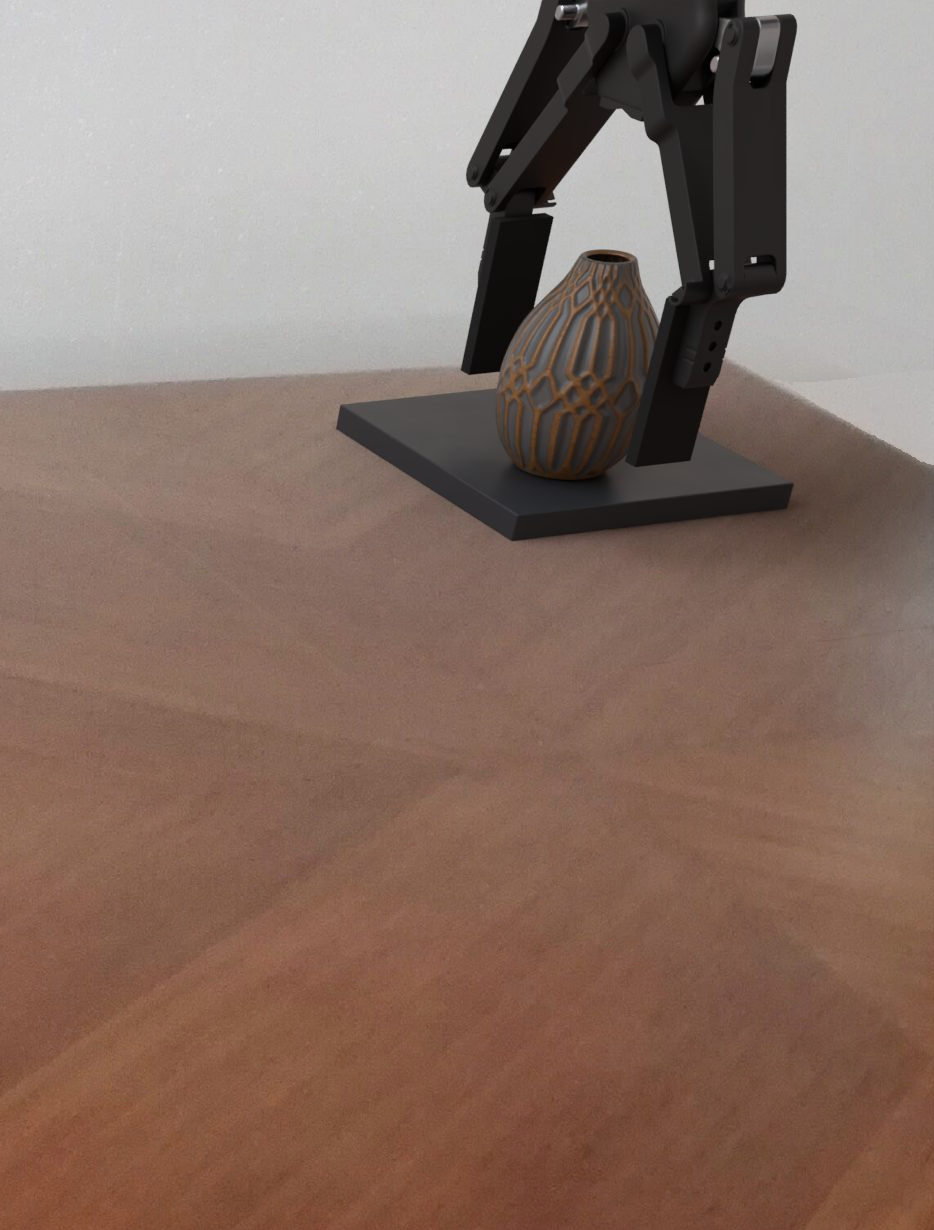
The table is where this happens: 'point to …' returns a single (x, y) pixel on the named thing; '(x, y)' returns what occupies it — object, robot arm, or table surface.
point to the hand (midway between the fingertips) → (570, 415)
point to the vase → (578, 371)
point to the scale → (543, 507)
